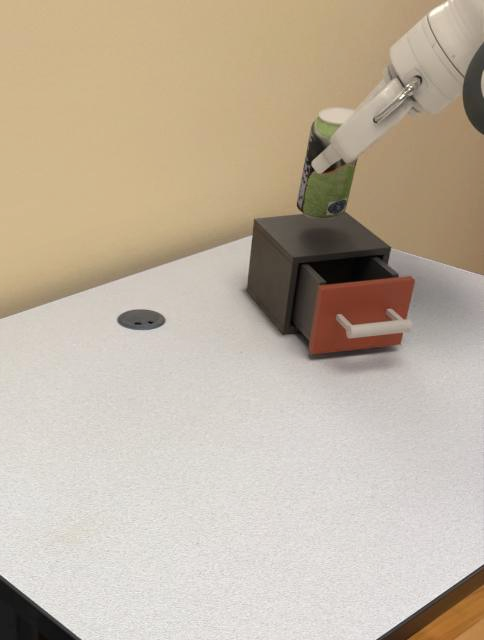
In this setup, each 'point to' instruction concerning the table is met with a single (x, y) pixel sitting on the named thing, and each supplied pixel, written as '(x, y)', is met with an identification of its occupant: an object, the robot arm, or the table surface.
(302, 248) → the cabinet
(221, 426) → the table surface
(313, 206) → the beverage can
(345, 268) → the drawer
